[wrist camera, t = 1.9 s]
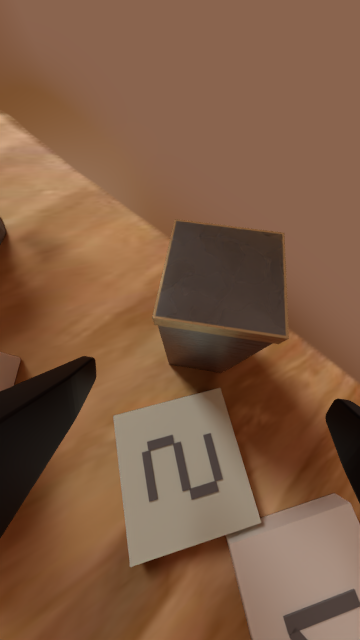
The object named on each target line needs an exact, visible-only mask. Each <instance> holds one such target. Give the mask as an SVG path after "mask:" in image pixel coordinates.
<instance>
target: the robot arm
mask: <svg viewBox="0 0 360 640" xmlns="http://www.w3.org/2000/svg"><path fill="white" fill-rule="evenodd" d="M95 379H96V363H95V359H94V358H93V357H87V356H83V357H80V358H78V359H75V360H73V361H71V362H68V363H66V364H64V365H61V366H59V367H57V368H54V369H52V370H49V371H47V372H45V373H42V374H40V375H38V376H35V377H33V378H31V379H28V380H26V381H24V382H21V383H19V384H17V385H14V386H12V387H9V388H7V389H5V390H2V391H0V538H1V536H2V535H3V533H4V532H5V530H6V528H7V527H8V525H9V524H10V522H11V521H12V519H13V517H14V516H15V514H16V513H17V511H18V510H19V508H20V506H21V505H22V503H23V502H24V500H25V498H26V497H27V495H28V494H29V492H30V491H31V489H32V487H33V486H34V484H35V483H36V481H37V479H38V478H39V476H40V475H41V473H42V472H43V470H44V468H45V467H46V465H47V464H48V462H49V460H50V459H51V457H52V456H53V454H54V453H55V451H56V449H57V448H58V446H59V445H60V443H61V441H62V440H63V438H64V437H65V435H66V434H67V432H68V430H69V429H70V427H71V426H72V424H73V422H74V421H75V419H76V417H77V415H78V414H79V412H80V410H81V408H82V406H83V404H84V402H85V400H86V398H87V396H88V394H89V392H90V390H91V388H92V386H93V384H94V382H95ZM326 423H327V425H328V428H329V431H330V433H331V436H332V439H333V442H334V444H335V447H336V450H337V453H338V455H339V458H340V461H341V463H342V466H343V468H344V470H345V473H346V475H347V477H348V479H349V481H350V484H351V486H352V488H353V490H354V492H355V494H356V496H357V499H358V501H359V503H360V407H359V406H358V405H356V404H355V403H353V402H351V401H349V400H344V399H336V400H334V402H333V403H332V405H331V407H330V408H329V410H328V412H327V413H326Z"/></svg>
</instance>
